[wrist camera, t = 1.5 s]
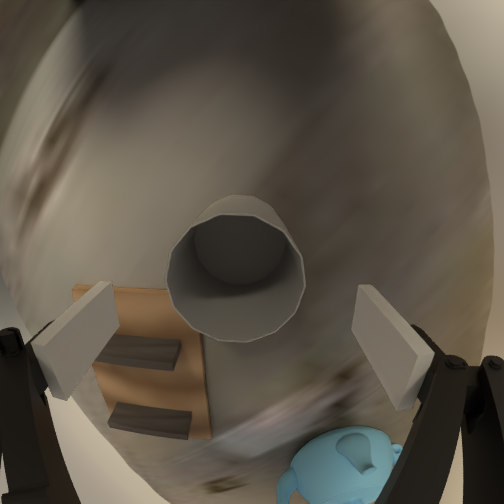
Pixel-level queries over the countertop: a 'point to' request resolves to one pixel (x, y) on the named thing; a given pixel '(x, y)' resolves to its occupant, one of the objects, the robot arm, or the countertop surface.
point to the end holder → (153, 368)
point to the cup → (236, 271)
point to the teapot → (340, 467)
